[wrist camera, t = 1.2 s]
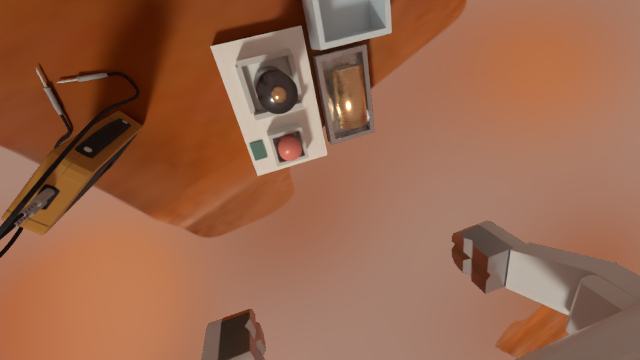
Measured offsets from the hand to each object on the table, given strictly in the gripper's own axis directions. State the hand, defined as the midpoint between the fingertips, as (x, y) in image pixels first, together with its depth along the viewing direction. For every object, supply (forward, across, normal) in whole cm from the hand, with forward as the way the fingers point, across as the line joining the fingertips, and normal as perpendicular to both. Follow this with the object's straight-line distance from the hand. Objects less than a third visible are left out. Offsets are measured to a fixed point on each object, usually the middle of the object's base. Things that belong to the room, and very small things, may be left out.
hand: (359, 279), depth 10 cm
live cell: (+27, -9, -2) cm, 29 cm away
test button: (+26, 0, +2) cm, 26 cm away
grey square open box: (+27, -10, -12) cm, 32 cm away
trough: (+28, -9, -2) cm, 30 cm away
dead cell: (+26, 0, -6) cm, 27 cm away
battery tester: (+28, 0, -3) cm, 28 cm away
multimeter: (+28, +21, -7) cm, 35 cm away
